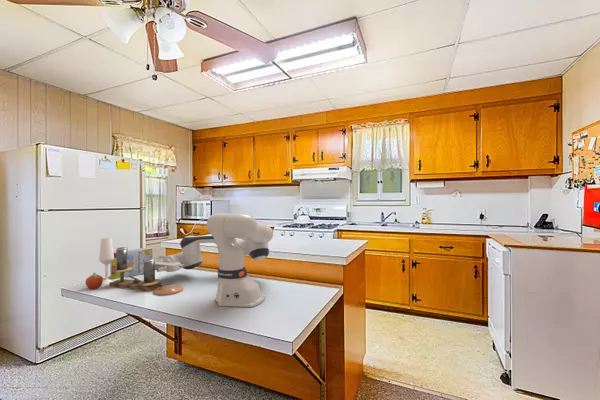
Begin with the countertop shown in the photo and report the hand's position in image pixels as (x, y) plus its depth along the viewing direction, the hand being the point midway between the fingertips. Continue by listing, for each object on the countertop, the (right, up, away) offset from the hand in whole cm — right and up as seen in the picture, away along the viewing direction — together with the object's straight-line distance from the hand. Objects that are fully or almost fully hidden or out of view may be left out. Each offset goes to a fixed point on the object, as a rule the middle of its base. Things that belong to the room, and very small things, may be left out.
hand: (150, 269), depth 145 cm
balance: (-9, -9, +2) cm, 13 cm away
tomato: (-28, -10, 0) cm, 30 cm away
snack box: (-24, -9, +24) cm, 35 cm away
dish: (+11, -9, -4) cm, 15 cm away
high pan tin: (-17, -1, +4) cm, 18 cm away
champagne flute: (-28, -9, +9) cm, 31 cm away
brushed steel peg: (0, -6, -1) cm, 6 cm away
